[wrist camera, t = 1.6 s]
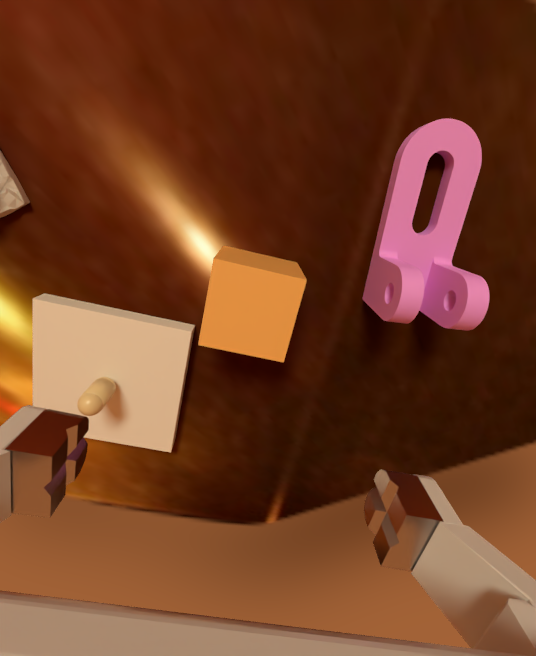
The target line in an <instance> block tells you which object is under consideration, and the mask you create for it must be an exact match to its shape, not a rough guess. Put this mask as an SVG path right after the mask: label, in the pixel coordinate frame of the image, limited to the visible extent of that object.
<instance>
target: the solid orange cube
mask: <svg viewBox="0 0 536 656" xmlns="http://www.w3.org/2000/svg"><path fill="white" fill-rule="evenodd" d="M306 281H307V279H306V278H305V276H304V274H303V272H302V270H301V269H300V267H299V265H298V263H296V262H292V261H288V260H284V259H279V258H275V257H271V256H267V255H262V254H258V253H254V252H250V251H246V250H241V249H237V248H233V247H229V246H223V247H222V248H221V250H220V251H219V252H218V254H217V255H216V256H215V257H214V260H213V266H212V271H211V277H210V282H209V288H208V293H207V299H206V304H205V310H204V315H203V321H202V326H201V332H200V337H199V343H198V345H201V346H206V347H211V348H215V349H220V350H225V351H230V352H235V353H240V354H245V355H249V356H254V357H259V358H264V359H269V360H274V361H279V362H283V363H284V360H285V356H286V352H287V349H288V345H289V342H290V338H291V335H292V331H293V327H294V324H295V320H296V317H297V313H298V310H299V306H300V302H301V299H302V295H303V292H304V288H305V284H306Z"/></svg>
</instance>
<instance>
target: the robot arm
mask: <svg viewBox="0 0 536 656" xmlns="http://www.w3.org/2000/svg"><path fill="white" fill-rule="evenodd" d="M88 430H89V419H88V418H87V417H86V416H81V415H76V414H71V413H66V412H61V411H56V410H51V409H45V408H40V407H35V406H30V405H28V406H24V407H22V408H21V409H20V410H18V411H17V412H16V413H15V414H14V415H13V416H12V417H11V418H9V419H8V420H7V421H6V422H5V423H4V424H3V425H1V426H0V522H2V521H4V520H5V519H7V518H8V517H10V516H11V513H14V514H22V515H31V516H40V517H49V518H50V517H51V516H52V514H53V513H54V511H55V509H56V508H57V507H58V505H59V503H60V502H61V501H62V499H63V498H64V496H65V490H66V485H67V484H69V483H71V482H73V481H75V479H76V477H77V476H78V474H79V473H80V471H81V468H82V466H83V463H84V461H85V457H86V453H87V445H88V444H87V442H86V441H85V439H84V438H83V437H84V436H85V434H86V433H87V431H88ZM374 481H375V484H376V487H375V488H373V489H372V490H370V491H369V492H368V494H367V497H366V500H365V507H364V512H365V520H366V523H367V526H368V528H369V529H370V530H371V531H372V532H373V533H374V534H375V535H376V536H375V538H374V541H373V544H374V547H375V550H376V553H377V556H378V559H379V562H380V565H381V566H383V567H388V568H394V569H400V570H405V571H411V572H412V573H411V574H412V575H413V576H414V577H415V579H416V580H417V581H418V582H419V584H420V585H421V586H422V587H423V589H424V590H425V591H426V592H427V594H428V595H429V596H430V597H431V599H432V600H433V601H434V602H435V604H436V605H437V606H438V607H439V609H440V610H441V611H442V612H443V614H444V615H445V616H446V617H447V619H448V620H449V621H450V622H451V624H452V625H453V626H454V627H455V629H456V630H457V631H458V632H459V634H460V635H461V636H462V637H463V639H464V640H465V641H466V642H467V643H468V645H469V646H470V647H471V648H462V647H455V646H446V645H438V644H431V643H422V642H414V641H406V640H398V639H389V638H382V637H373V636H365V635H357V634H348V633H341V632H332V631H324V630H316V629H307V628H299V627H291V626H283V625H275V624H267V623H259V622H251V621H243V620H235V619H227V618H219V617H211V616H203V615H195V614H186V613H178V612H170V611H162V610H154V609H146V608H138V607H129V606H122V605H113V604H104V603H97V602H89V601H80V600H73V599H64V598H57V597H48V596H41V595H32V594H24V593H16V592H8V591H0V656H536V580H535V579H533V578H532V577H531V576H530V575H528V574H527V573H526V572H525V571H523V570H522V569H521V568H520V567H518V566H517V565H516V564H515V563H514V562H512V561H511V560H510V559H509V558H507V557H506V556H505V555H504V554H502V553H501V552H500V551H498V550H497V549H496V548H495V547H494V546H492V545H491V544H490V543H489V542H487V541H486V540H485V539H484V538H482V537H481V536H480V535H479V534H478V533H476V532H475V531H474V530H473V529H471V528H470V527H469V526H464V525H463V524H462V523H461V521H460V520H459V518H458V516H457V514H456V513H455V511H454V510H453V508H452V507H451V505H450V503H449V502H448V500H447V499H446V497H445V495H444V494H443V492H442V491H441V489H440V488H439V486H438V484H437V483H436V481H435V480H434V479H433V478H431V477H428V476H422V475H415V474H414V475H412V474H406V473H400V472H395V471H389V470H383V469H380V470H379V471H378V472H377V474H376V476H375V478H374Z"/></svg>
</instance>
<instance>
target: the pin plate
mask: <svg viewBox="0 0 536 656" xmlns="http://www.w3.org/2000/svg"><path fill="white" fill-rule="evenodd" d="M194 328H195V325H192V324H187V323H182V322H177V321H173V320H168V319H163V318H159V317H154V316H149V315H144V314H140V313H135V312H130V311H125V310H121V309H116V308H111V307H106V306H102V305H97V304H92V303H87V302H83V301H78V300H73V299H68V298H64V297H59V296H54V295H50V294H45V293H44V294H42V295H40V296H37V297H35V298H33V406H35V407H40V408H45V409H51V410H56V411H61V412H66V413H71V414H76V415H81V416H86V417H87V418H88V419H89V430H88V431H87V433H86V434H85V436H84V437H85V438H90V439H96V440H102V441H108V442H113V443H119V444H125V445H131V446H137V447H142V448H148V449H154V450H160V451H165V452H171V451H172V448H173V445H174V442H175V438H176V432H177V426H178V420H179V415H180V409H181V403H182V397H183V391H184V386H185V380H186V374H187V368H188V363H189V357H190V351H191V345H192V340H193V334H194Z"/></svg>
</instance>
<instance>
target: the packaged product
mask: <svg viewBox="0 0 536 656" xmlns="http://www.w3.org/2000/svg"><path fill="white" fill-rule="evenodd" d="M28 203H30V201H29V200H28V198H27V196H26V194H25V192H24V190H23V188H22V187H21V185H20V183H19V181H18V179H17V177H16V175H15V174H14V172H13V170H12V169H11V167H10V165H9V164H8V162H7V160H6V159H5V157H4V156H3V154H2V152H1V151H0V218H1V217H4V216H6V215H8V214H10V213H12V212H14V211H16V210H18V209H19V208H21V207H23V206H25V205H27V204H28Z"/></svg>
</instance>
